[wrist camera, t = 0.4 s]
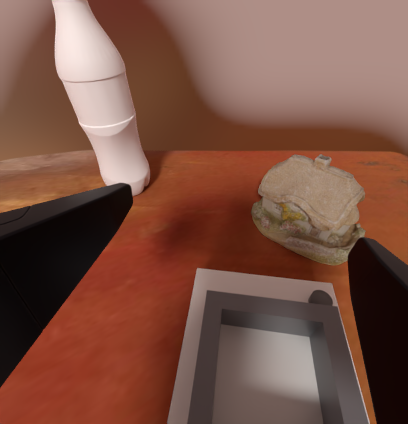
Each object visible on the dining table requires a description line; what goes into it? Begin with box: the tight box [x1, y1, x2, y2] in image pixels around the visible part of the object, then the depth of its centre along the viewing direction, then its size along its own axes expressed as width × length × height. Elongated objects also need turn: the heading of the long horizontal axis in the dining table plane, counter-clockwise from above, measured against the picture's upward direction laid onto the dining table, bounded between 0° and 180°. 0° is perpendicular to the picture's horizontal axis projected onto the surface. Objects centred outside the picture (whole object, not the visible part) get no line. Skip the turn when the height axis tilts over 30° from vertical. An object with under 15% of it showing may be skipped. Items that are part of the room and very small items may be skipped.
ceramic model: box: [251, 154, 365, 265], centre depth 27 cm, size 14×11×10 cm
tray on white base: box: [167, 268, 370, 424], centre depth 15 cm, size 16×12×7 cm
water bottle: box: [52, 0, 150, 196], centre depth 28 cm, size 7×7×25 cm
